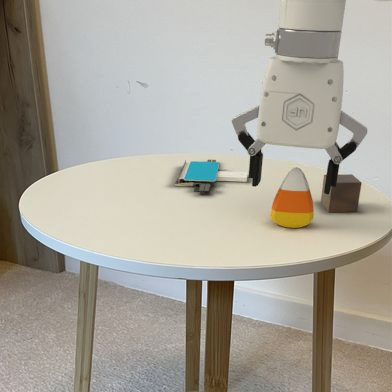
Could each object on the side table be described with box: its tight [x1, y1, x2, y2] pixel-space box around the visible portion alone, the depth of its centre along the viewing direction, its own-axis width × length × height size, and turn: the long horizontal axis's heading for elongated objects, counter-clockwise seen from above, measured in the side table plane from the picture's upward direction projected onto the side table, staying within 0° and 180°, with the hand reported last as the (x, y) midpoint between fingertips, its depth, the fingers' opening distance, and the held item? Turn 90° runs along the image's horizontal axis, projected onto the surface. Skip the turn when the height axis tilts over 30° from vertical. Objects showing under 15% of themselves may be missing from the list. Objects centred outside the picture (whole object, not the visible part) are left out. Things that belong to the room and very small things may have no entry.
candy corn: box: [269, 167, 315, 229], centre depth 82 cm, size 6×3×8 cm, turn 81°
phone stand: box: [174, 159, 248, 196], centre depth 103 cm, size 20×12×2 cm, turn 175°
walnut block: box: [320, 173, 363, 213], centre depth 90 cm, size 4×4×4 cm
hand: (291, 187), depth 81 cm, fingers open, 9 cm apart
